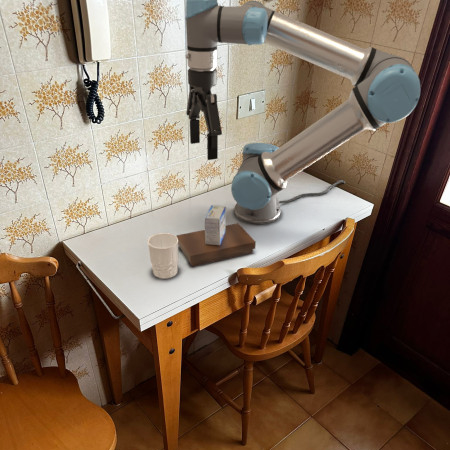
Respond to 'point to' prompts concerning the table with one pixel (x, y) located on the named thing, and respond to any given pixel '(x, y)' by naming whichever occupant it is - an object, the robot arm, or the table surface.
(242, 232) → the board
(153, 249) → the white cup
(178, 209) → the table surface
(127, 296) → the table surface
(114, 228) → the table surface
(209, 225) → the medicine box
